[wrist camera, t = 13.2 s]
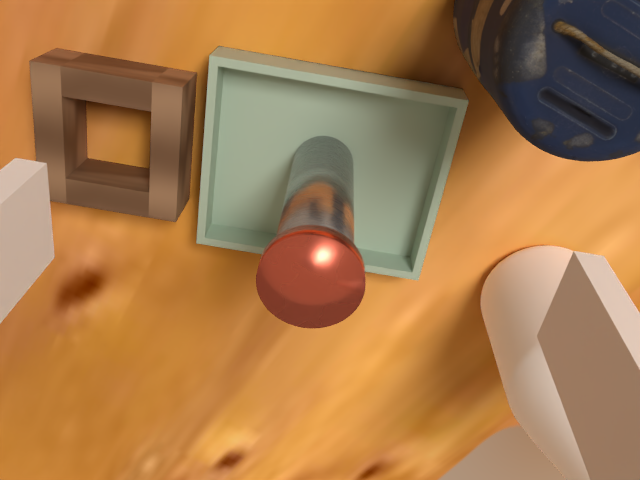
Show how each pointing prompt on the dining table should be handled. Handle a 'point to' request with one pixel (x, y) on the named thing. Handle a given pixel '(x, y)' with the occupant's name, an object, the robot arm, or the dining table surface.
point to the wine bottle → (530, 349)
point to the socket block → (121, 90)
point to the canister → (559, 70)
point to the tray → (334, 121)
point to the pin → (315, 241)
